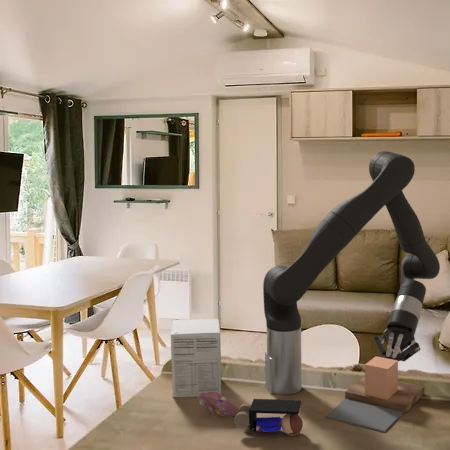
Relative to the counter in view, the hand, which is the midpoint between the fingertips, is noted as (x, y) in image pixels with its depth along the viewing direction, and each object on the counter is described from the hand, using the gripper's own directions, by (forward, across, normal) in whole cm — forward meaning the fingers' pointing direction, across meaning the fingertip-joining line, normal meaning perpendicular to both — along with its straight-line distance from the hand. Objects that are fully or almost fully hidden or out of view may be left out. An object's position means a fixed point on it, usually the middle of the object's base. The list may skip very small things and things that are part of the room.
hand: (387, 372), depth 168 cm
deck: (+6, 0, +3) cm, 6 cm away
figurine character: (+29, -15, -20) cm, 39 cm away
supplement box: (+21, -45, -12) cm, 51 cm away
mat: (+15, 0, -7) cm, 16 cm away
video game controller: (+28, -31, -19) cm, 46 cm away
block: (+6, 0, -1) cm, 6 cm away
